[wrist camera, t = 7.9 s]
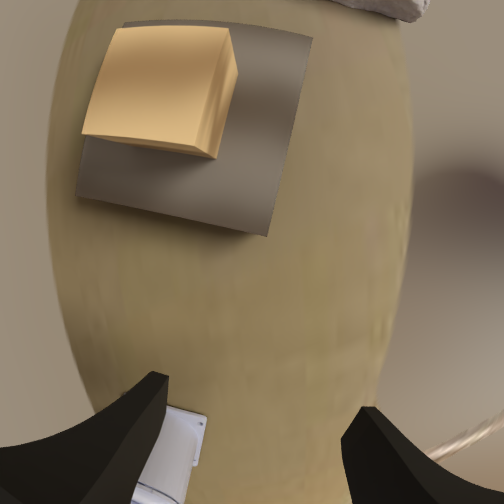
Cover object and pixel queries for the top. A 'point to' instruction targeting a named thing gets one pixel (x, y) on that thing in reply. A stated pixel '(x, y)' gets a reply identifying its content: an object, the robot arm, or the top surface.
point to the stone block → (391, 7)
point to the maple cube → (165, 89)
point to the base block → (231, 146)
